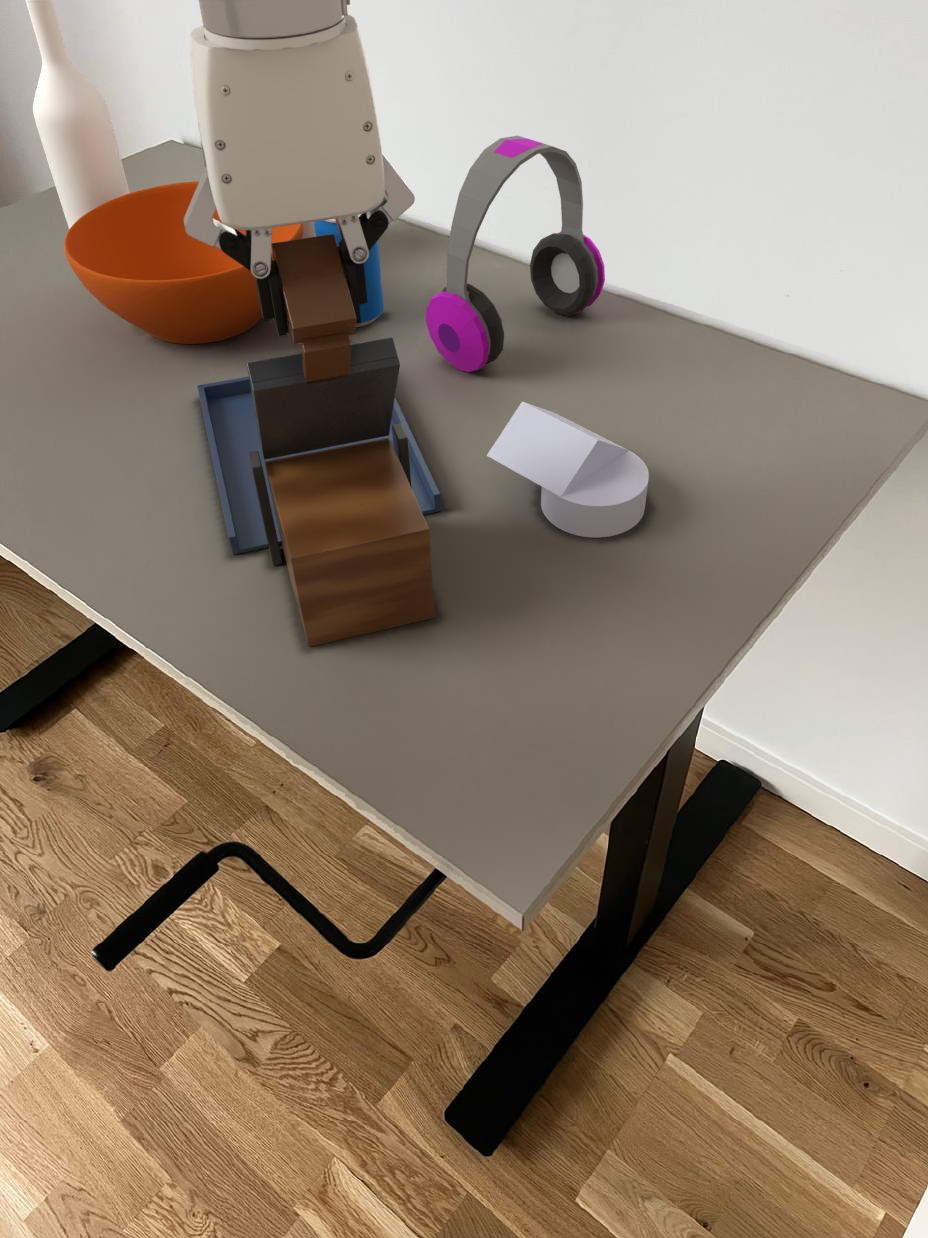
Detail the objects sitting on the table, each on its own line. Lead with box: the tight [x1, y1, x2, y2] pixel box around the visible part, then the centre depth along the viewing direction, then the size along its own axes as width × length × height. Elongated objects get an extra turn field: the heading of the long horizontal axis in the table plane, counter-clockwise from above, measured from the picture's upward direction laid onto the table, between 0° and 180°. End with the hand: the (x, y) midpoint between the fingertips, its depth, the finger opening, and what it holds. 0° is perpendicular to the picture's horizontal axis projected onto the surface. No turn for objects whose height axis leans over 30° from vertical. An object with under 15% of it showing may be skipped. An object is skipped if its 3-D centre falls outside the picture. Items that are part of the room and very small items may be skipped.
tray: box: [196, 375, 442, 555], centre depth 92 cm, size 25×18×2 cm
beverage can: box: [314, 214, 385, 328], centre depth 107 cm, size 6×6×12 cm
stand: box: [248, 423, 436, 648], centre depth 76 cm, size 12×12×10 cm
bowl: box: [63, 180, 304, 345], centre depth 109 cm, size 25×25×10 cm
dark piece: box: [246, 234, 401, 460], centre depth 70 cm, size 18×10×7 cm
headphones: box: [425, 135, 606, 373], centre depth 100 cm, size 21×9×20 cm, turn 136°
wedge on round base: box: [486, 401, 650, 539], centre depth 85 cm, size 9×7×13 cm
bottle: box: [24, 0, 131, 230], centre depth 112 cm, size 8×8×30 cm
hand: (315, 317), depth 65 cm, fingers closed on dark piece, 4 cm apart
